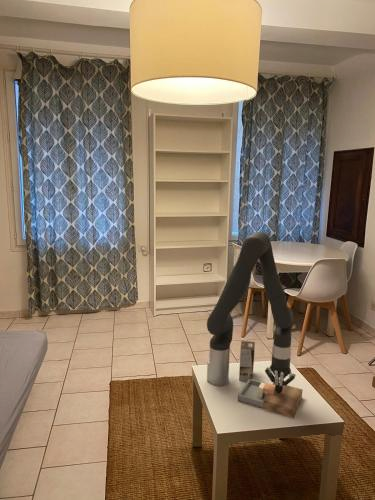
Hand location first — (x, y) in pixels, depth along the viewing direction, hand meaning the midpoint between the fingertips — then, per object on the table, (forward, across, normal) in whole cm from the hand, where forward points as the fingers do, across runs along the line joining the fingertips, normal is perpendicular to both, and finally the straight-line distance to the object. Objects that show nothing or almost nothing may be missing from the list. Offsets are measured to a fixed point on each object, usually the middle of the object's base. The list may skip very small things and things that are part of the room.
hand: (278, 392), depth 163 cm
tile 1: (+1, -6, 0) cm, 7 cm away
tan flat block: (+4, +2, 0) cm, 5 cm away
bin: (+4, -10, -1) cm, 11 cm away
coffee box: (+5, -19, +13) cm, 23 cm away
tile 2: (0, -4, 0) cm, 4 cm away
